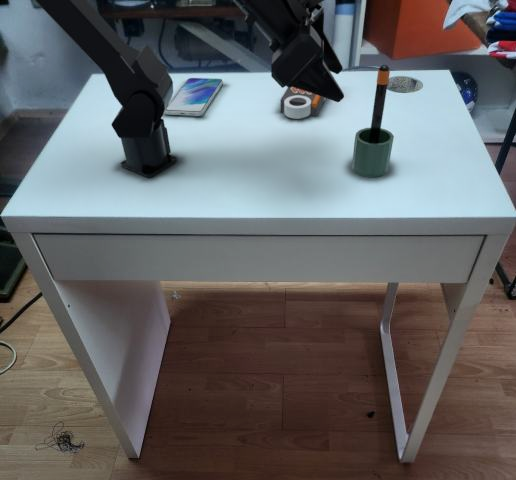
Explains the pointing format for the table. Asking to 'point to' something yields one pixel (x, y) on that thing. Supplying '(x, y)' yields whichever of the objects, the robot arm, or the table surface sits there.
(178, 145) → the table surface
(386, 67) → the stylus
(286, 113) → the electronic device
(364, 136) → the pen cup
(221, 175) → the table surface
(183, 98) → the smartphone
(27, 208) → the table surface
